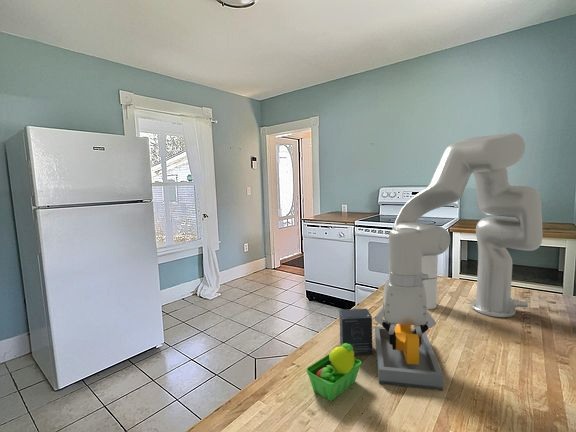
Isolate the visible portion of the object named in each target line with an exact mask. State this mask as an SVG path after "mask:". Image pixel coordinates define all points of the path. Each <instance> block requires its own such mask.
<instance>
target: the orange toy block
mask: <svg viewBox="0 0 576 432" xmlns="http://www.w3.org/2000/svg"><path fill="white" fill-rule="evenodd" d="M411 329H412V325H407V324H398V325H396V327H395V334H396V350H402V351H403V352H404V355H405V358H406V361H407V364H418V365H419V337H418V334H412V333H411Z"/></svg>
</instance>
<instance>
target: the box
mask: <svg viewBox="0 0 576 432" xmlns="http://www.w3.org/2000/svg"><path fill="white" fill-rule="evenodd" d="M344 343H347V344H350V345H351V346H352V347H353V351H354V356H362V355H364V356H366V355H373V352H374V351H373V317H372V315H371V312H370V311H369V309H368V308H352V309H349V308H348V309H339V345H340V346H342V344H344Z"/></svg>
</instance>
